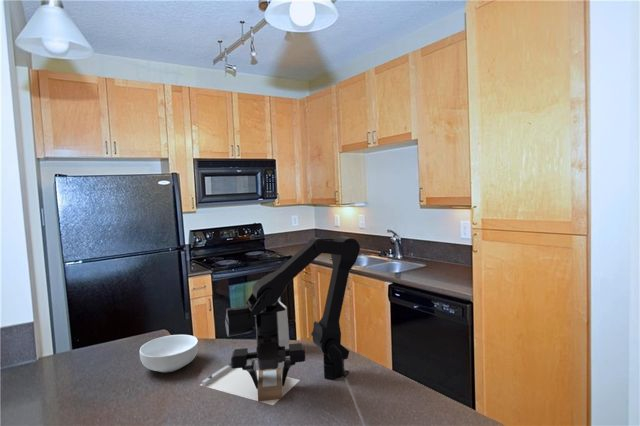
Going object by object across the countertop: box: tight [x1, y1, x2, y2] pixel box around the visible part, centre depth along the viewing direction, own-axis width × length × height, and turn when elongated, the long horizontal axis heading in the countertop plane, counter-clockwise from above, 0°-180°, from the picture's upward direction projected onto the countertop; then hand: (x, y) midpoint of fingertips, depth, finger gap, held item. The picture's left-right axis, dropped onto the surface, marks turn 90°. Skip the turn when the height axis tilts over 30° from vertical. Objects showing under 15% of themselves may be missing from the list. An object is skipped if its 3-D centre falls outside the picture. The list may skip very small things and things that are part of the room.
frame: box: [257, 367, 283, 402], centre depth 100 cm, size 11×6×3 cm, turn 8°
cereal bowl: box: [139, 334, 199, 373], centre depth 117 cm, size 17×17×7 cm
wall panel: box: [200, 362, 301, 406], centre depth 104 cm, size 13×24×2 cm, turn 63°
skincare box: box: [277, 300, 290, 349], centre depth 124 cm, size 8×7×16 cm
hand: (270, 386), depth 100 cm, fingers open, 6 cm apart
